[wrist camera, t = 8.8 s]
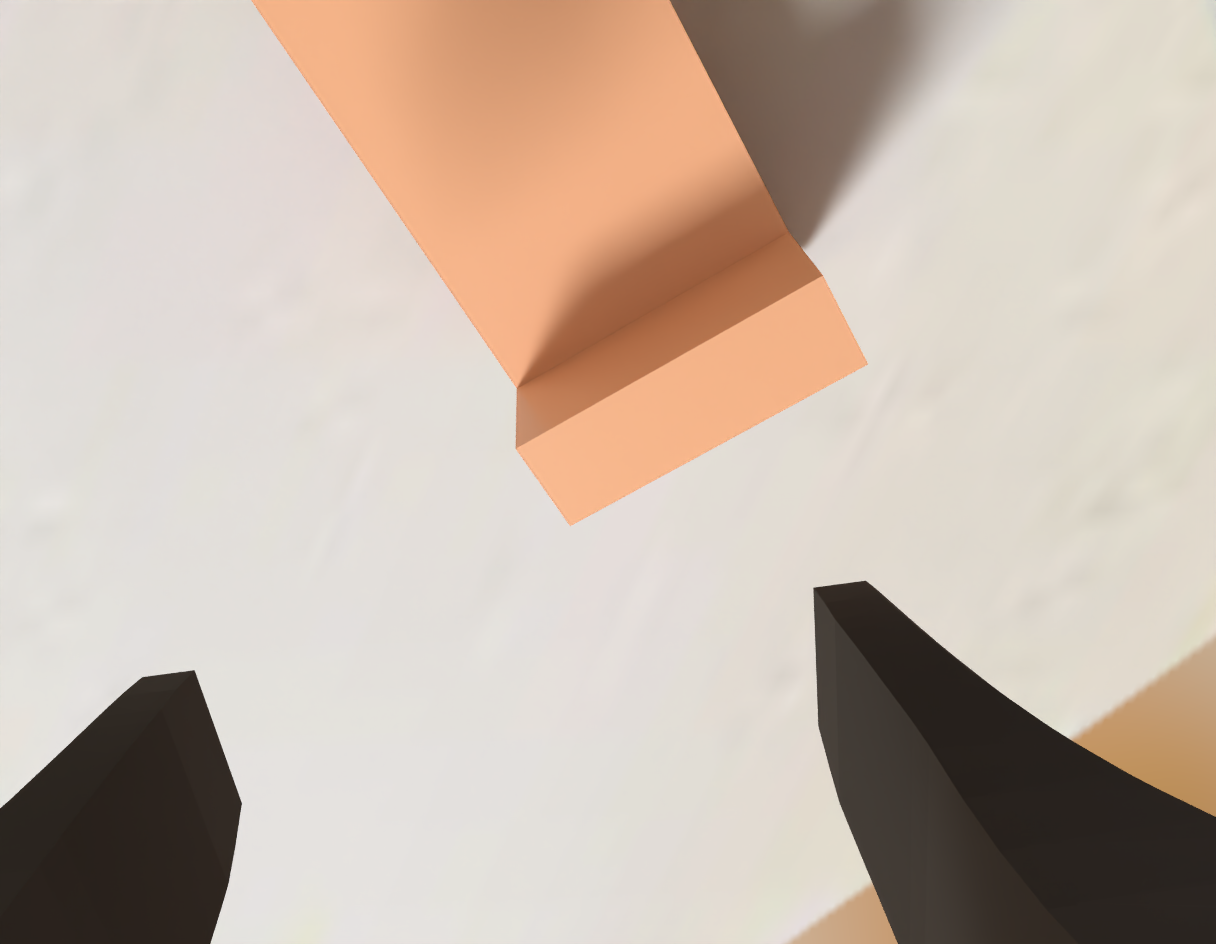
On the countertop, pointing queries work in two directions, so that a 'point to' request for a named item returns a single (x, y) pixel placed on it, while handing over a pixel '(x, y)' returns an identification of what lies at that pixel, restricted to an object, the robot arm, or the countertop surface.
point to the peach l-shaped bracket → (581, 221)
